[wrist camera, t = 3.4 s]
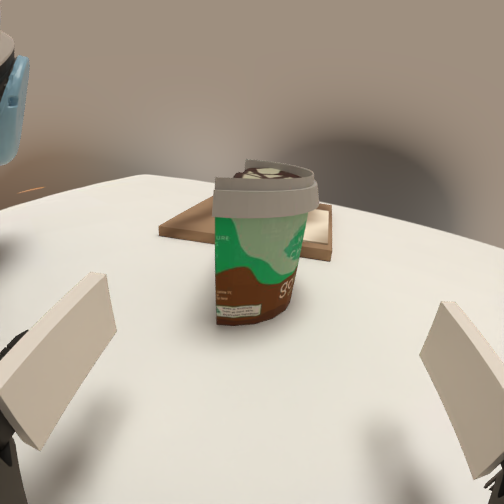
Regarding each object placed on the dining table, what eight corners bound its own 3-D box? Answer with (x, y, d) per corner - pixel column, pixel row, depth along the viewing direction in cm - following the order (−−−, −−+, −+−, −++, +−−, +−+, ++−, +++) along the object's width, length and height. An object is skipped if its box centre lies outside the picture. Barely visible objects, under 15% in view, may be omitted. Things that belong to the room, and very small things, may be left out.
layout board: (158, 235, 36) (158, 224, 35) (220, 198, 55) (220, 190, 55) (330, 261, 31) (332, 249, 31) (330, 211, 51) (331, 204, 51)
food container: (307, 348, 18) (334, 189, 15) (211, 337, 19) (212, 178, 15) (302, 267, 30) (315, 165, 26) (240, 260, 30) (246, 158, 26)
